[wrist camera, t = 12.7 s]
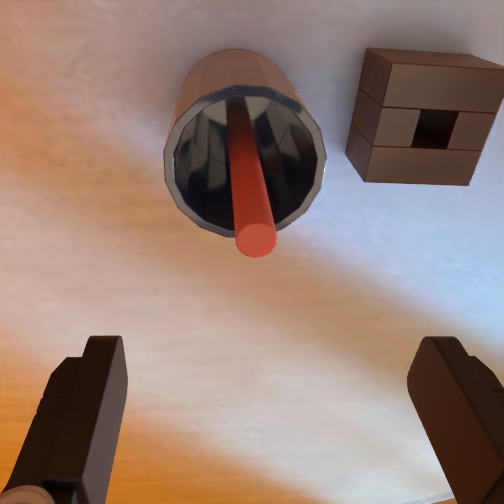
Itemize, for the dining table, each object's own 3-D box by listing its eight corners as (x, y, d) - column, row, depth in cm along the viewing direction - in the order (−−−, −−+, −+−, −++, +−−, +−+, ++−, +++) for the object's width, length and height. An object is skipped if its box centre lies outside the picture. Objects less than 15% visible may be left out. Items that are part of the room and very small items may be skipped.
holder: (366, 47, 28) (392, 62, 24) (471, 54, 29) (514, 70, 25) (344, 154, 32) (363, 182, 28) (437, 158, 33) (469, 186, 29)
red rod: (226, 103, 29) (237, 222, 16) (250, 104, 29) (279, 223, 16) (225, 127, 30) (234, 258, 17) (248, 128, 30) (275, 258, 17)
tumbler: (176, 44, 27) (159, 80, 19) (302, 53, 28) (339, 91, 20) (179, 165, 32) (167, 236, 23) (287, 169, 33) (312, 239, 24)
